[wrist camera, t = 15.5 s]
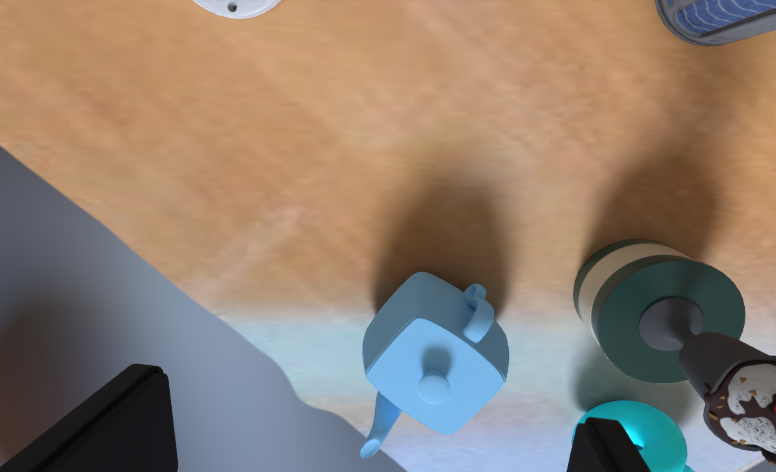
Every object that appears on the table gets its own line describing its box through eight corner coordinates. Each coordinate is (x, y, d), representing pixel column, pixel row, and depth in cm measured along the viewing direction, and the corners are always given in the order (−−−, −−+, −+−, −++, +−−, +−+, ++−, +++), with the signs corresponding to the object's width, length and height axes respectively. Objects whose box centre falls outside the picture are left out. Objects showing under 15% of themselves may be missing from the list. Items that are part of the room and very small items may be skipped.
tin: (582, 232, 39) (612, 254, 32) (705, 241, 38) (764, 266, 31) (562, 336, 42) (586, 375, 35) (676, 347, 41) (723, 390, 34)
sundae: (642, 280, 33) (806, 401, 18) (726, 296, 32) (962, 434, 18) (615, 349, 34) (745, 509, 20) (695, 366, 34) (886, 541, 20)
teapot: (335, 355, 46) (304, 427, 35) (433, 238, 41) (432, 279, 30) (420, 416, 47) (416, 505, 36) (526, 308, 42) (558, 373, 31)
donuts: (645, 382, 42) (706, 456, 33) (678, 452, 44) (745, 543, 35) (555, 413, 45) (588, 492, 35) (589, 480, 46) (630, 571, 37)
